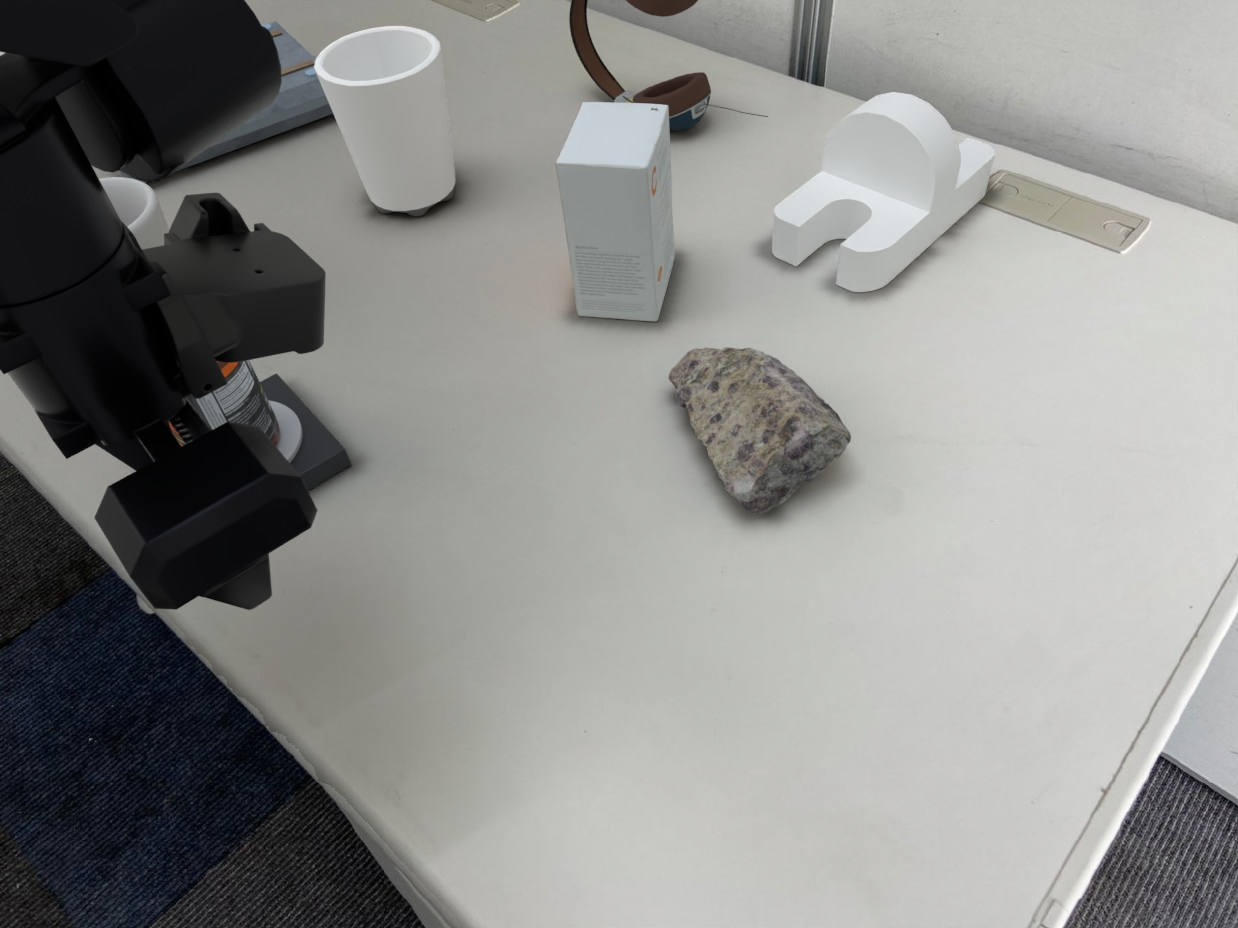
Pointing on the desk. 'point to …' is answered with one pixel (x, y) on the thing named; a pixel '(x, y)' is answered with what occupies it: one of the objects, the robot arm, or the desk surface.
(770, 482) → the rock
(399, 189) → the cup
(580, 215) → the small box
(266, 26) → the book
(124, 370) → the robot arm
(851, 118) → the slotted bracket
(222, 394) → the supplement bottle
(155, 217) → the cup
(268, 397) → the scale
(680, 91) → the headphones
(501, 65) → the desk surface
